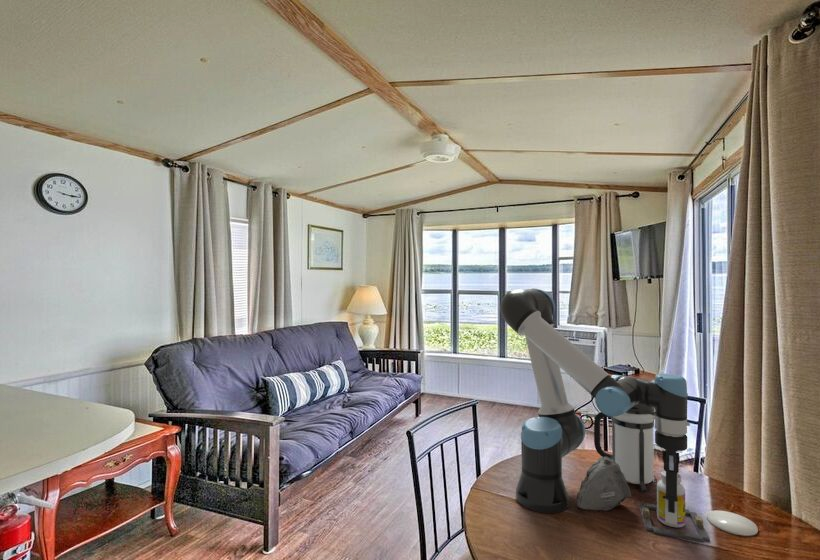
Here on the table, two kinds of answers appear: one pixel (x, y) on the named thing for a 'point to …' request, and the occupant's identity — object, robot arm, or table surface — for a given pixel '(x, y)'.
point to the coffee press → (631, 444)
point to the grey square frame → (696, 520)
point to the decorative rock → (603, 486)
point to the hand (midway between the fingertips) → (670, 515)
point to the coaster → (732, 523)
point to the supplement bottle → (661, 501)
